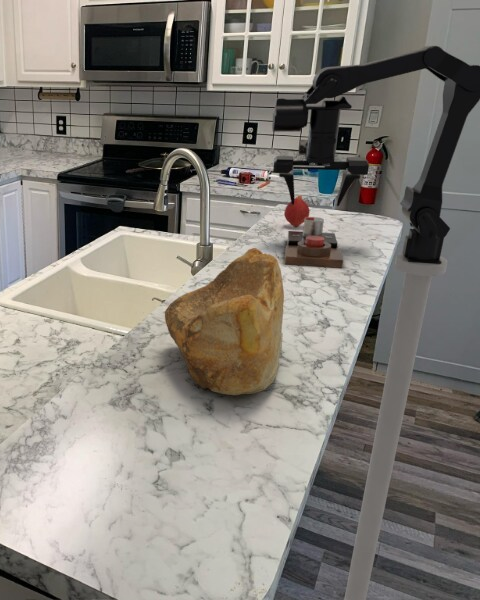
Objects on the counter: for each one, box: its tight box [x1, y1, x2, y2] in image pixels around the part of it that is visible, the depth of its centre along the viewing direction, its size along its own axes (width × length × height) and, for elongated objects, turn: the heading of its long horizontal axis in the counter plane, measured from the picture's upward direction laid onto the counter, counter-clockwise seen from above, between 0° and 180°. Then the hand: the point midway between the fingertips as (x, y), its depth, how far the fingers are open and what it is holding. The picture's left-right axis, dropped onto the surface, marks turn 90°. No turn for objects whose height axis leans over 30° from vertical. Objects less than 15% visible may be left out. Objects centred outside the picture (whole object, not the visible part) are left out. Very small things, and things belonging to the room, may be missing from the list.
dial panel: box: [286, 230, 338, 248], centre depth 136 cm, size 10×8×3 cm
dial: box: [302, 216, 325, 238], centre depth 135 cm, size 4×4×4 cm
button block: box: [284, 240, 344, 269], centre depth 128 cm, size 11×8×4 cm
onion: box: [284, 194, 310, 228], centre depth 151 cm, size 6×6×8 cm
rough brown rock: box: [164, 247, 285, 396], centre depth 86 cm, size 23×17×15 cm
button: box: [305, 236, 324, 247], centre depth 127 cm, size 4×4×2 cm
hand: (315, 204), depth 133 cm, fingers open, 9 cm apart
